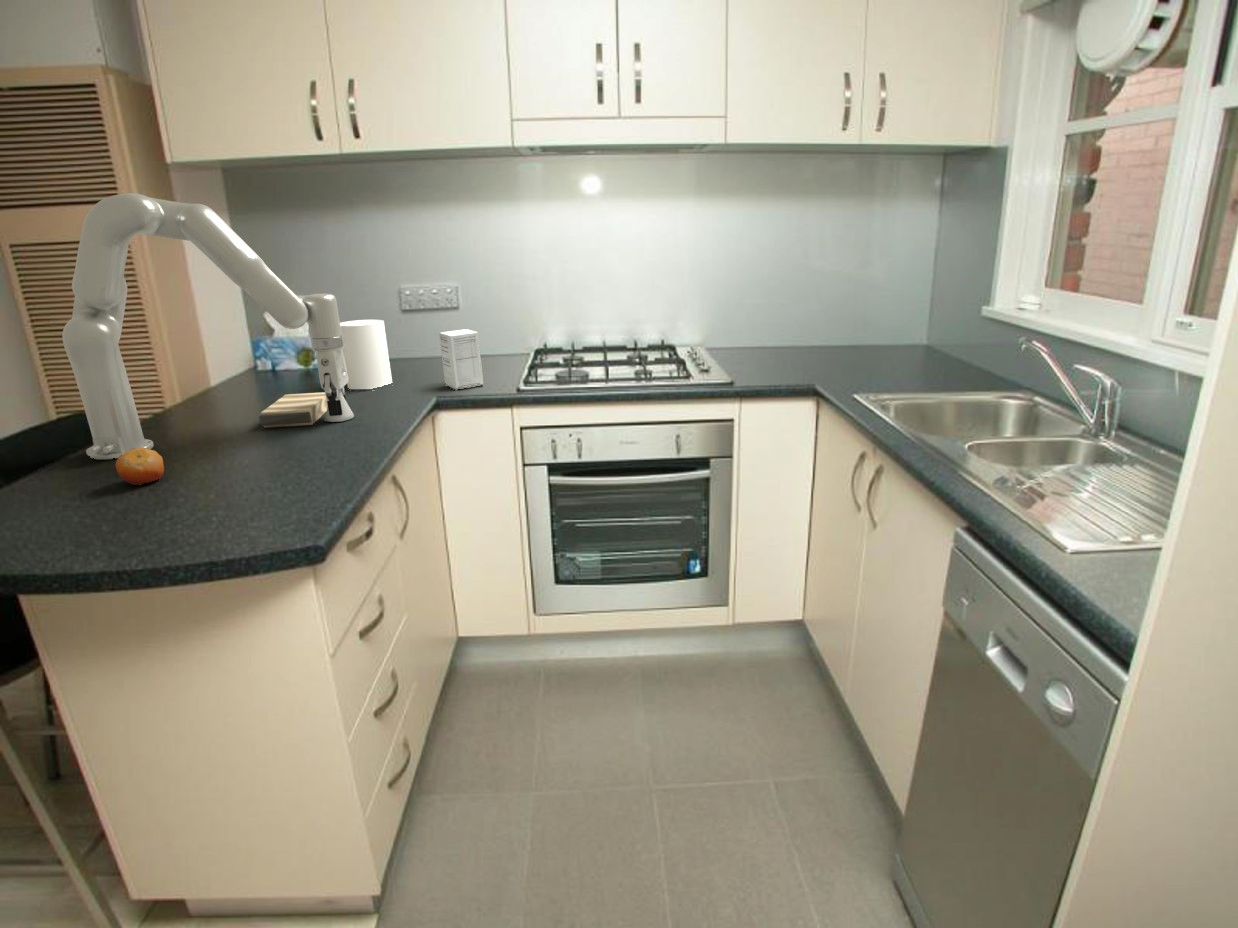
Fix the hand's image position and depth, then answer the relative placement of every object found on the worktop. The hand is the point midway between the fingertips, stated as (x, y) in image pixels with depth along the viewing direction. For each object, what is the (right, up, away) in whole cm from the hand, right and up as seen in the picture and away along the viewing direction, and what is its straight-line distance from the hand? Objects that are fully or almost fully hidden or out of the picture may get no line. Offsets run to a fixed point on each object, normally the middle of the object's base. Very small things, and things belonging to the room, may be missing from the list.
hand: (338, 411), depth 187 cm
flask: (0, -2, +1) cm, 2 cm away
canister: (-5, +11, +38) cm, 40 cm away
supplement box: (+26, +10, +34) cm, 44 cm away
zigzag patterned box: (-12, -1, +5) cm, 13 cm away
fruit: (-23, -18, -42) cm, 51 cm away
